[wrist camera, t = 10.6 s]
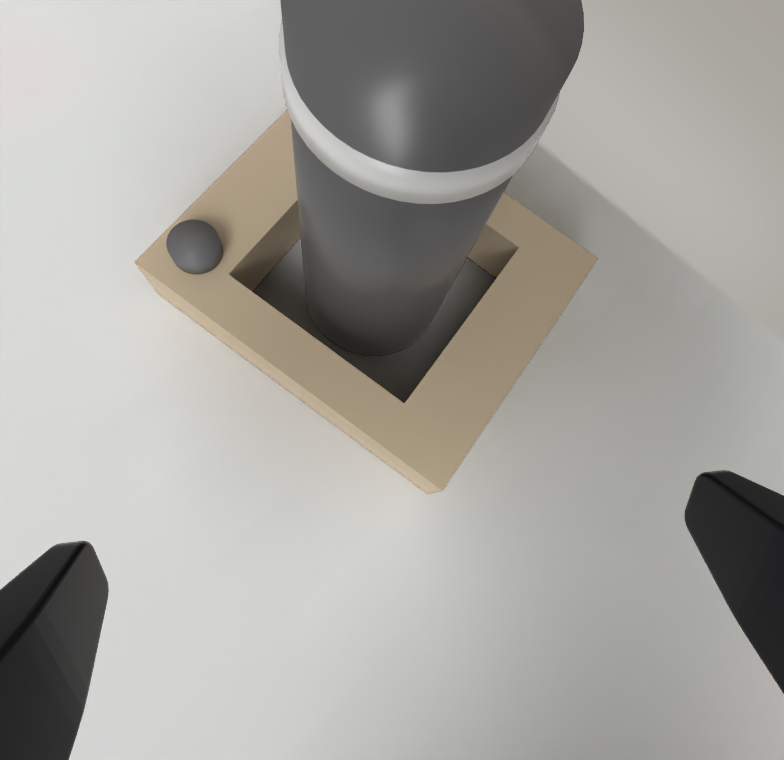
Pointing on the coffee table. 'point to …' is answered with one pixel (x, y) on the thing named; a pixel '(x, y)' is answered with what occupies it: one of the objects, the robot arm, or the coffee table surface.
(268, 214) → the tan square frame
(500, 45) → the canister
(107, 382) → the coffee table surface
